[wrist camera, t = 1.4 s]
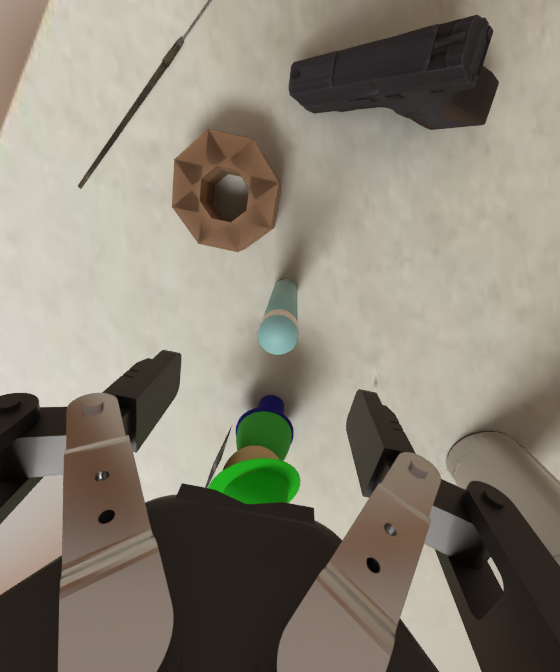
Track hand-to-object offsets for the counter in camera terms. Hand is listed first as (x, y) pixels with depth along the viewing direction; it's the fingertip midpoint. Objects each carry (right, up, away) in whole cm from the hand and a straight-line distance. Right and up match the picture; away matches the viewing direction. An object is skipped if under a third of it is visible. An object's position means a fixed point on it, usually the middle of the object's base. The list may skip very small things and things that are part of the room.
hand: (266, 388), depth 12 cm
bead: (-4, +16, +15) cm, 23 cm away
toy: (-1, -8, +25) cm, 26 cm away
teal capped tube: (+1, +7, +19) cm, 20 cm away
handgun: (+10, +23, +12) cm, 28 cm away
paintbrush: (-11, +25, +13) cm, 30 cm away
